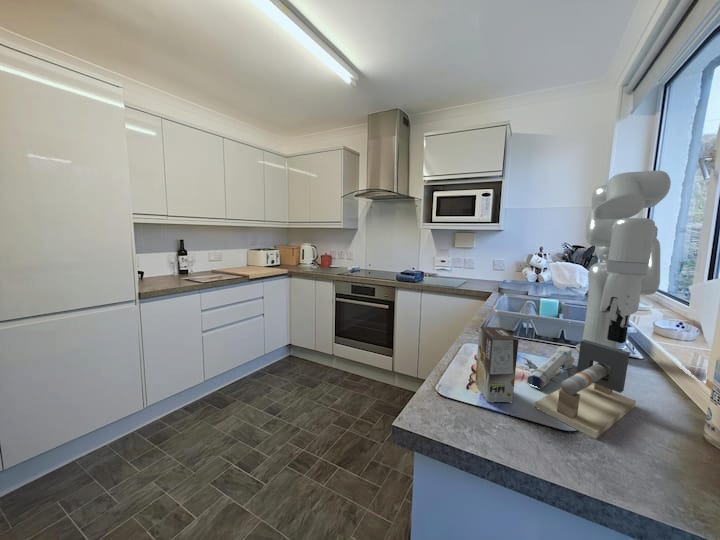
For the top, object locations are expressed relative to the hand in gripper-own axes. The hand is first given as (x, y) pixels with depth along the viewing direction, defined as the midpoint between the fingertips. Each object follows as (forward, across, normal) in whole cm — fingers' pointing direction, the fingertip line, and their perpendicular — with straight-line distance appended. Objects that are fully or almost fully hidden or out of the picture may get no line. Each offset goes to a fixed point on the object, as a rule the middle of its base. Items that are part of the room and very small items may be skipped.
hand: (616, 340), depth 75 cm
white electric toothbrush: (+15, +2, -13) cm, 20 cm away
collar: (+10, +6, 0) cm, 12 cm away
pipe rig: (+14, +12, 0) cm, 19 cm away
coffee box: (+15, +26, -15) cm, 34 cm away
